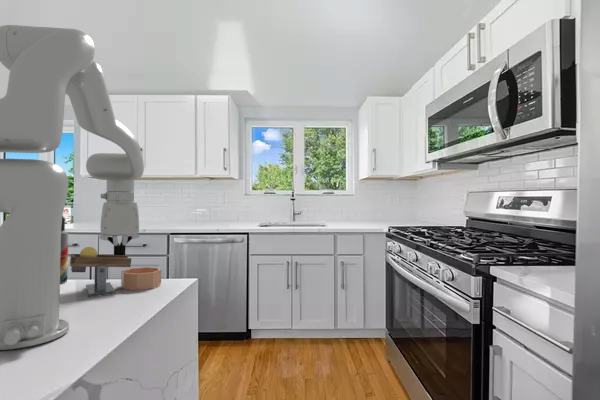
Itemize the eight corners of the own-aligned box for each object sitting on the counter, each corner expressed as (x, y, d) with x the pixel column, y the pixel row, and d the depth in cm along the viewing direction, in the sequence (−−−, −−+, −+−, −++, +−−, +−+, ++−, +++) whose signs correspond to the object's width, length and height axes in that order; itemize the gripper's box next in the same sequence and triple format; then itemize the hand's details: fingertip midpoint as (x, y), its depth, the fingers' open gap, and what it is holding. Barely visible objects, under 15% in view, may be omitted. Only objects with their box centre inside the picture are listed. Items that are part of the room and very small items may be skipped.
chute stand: (115, 293, 92) (115, 265, 93) (88, 297, 89) (89, 267, 89) (109, 285, 102) (110, 259, 102) (85, 287, 99) (86, 261, 99)
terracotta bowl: (164, 287, 100) (164, 271, 100) (124, 292, 94) (124, 275, 95) (156, 280, 109) (156, 266, 109) (118, 284, 103) (119, 269, 103)
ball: (91, 265, 93) (101, 252, 94) (76, 258, 91) (87, 244, 92) (90, 263, 96) (99, 251, 98) (76, 256, 94) (86, 243, 96)
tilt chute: (129, 273, 97) (131, 258, 97) (69, 272, 89) (71, 257, 89) (121, 265, 109) (123, 252, 109) (68, 264, 101) (70, 250, 101)
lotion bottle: (67, 283, 103) (68, 216, 104) (43, 286, 100) (45, 216, 100) (67, 280, 108) (68, 215, 108) (44, 282, 105) (46, 215, 105)
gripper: (92, 197, 99) (91, 262, 99) (149, 198, 108) (148, 258, 107) (90, 197, 105) (90, 258, 105) (144, 198, 114) (143, 254, 114)
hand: (119, 258), depth 106 cm, fingers closed
